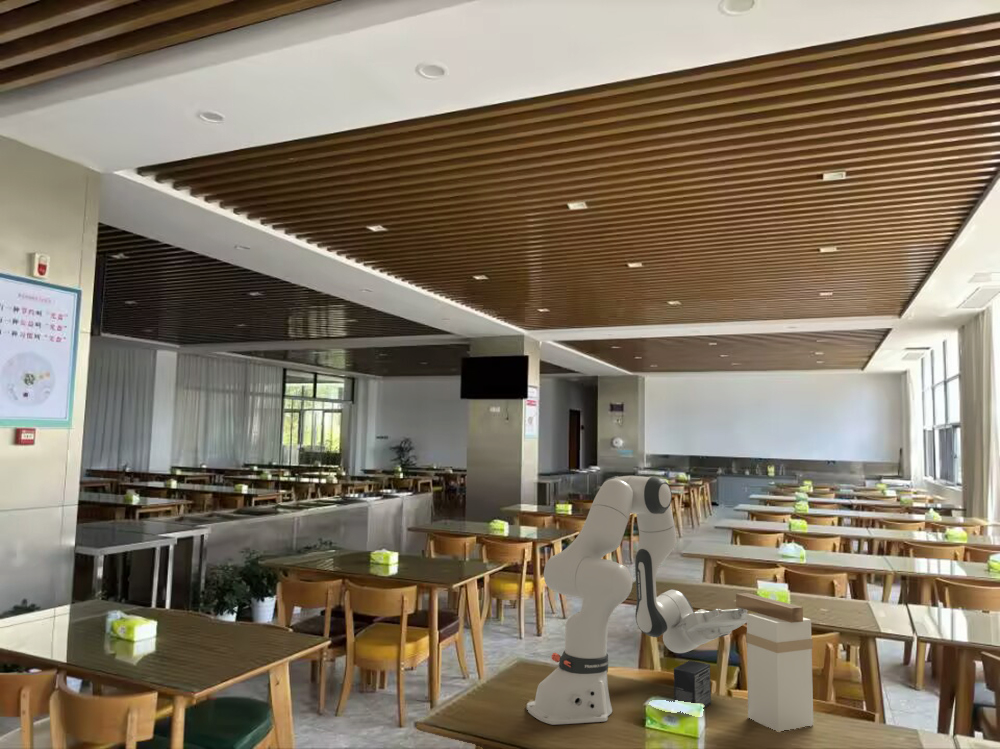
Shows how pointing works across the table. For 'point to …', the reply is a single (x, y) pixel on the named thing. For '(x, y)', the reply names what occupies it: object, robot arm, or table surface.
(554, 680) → the robot arm
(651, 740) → the table surface
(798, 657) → the carton
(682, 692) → the small box
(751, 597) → the flap bar
